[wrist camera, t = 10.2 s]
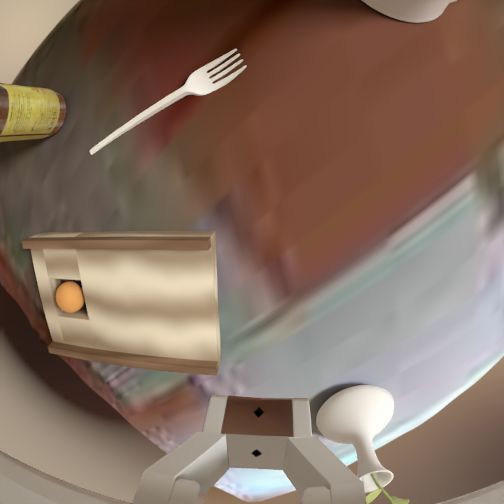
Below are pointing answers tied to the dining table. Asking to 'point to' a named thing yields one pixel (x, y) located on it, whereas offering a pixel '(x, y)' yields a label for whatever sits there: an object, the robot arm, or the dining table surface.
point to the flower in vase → (360, 431)
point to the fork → (183, 93)
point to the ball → (70, 297)
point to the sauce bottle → (29, 112)
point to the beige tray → (133, 297)
